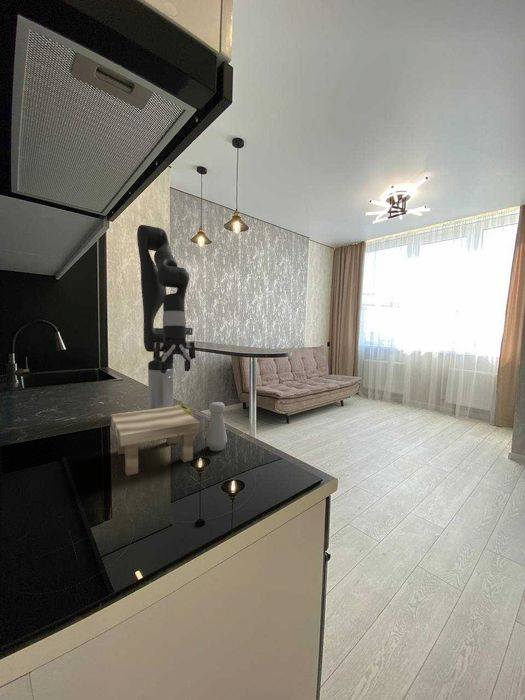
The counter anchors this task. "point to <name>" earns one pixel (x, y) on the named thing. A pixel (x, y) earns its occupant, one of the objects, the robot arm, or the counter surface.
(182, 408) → the apple
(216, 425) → the salt shaker
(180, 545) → the counter surface
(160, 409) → the footstool
